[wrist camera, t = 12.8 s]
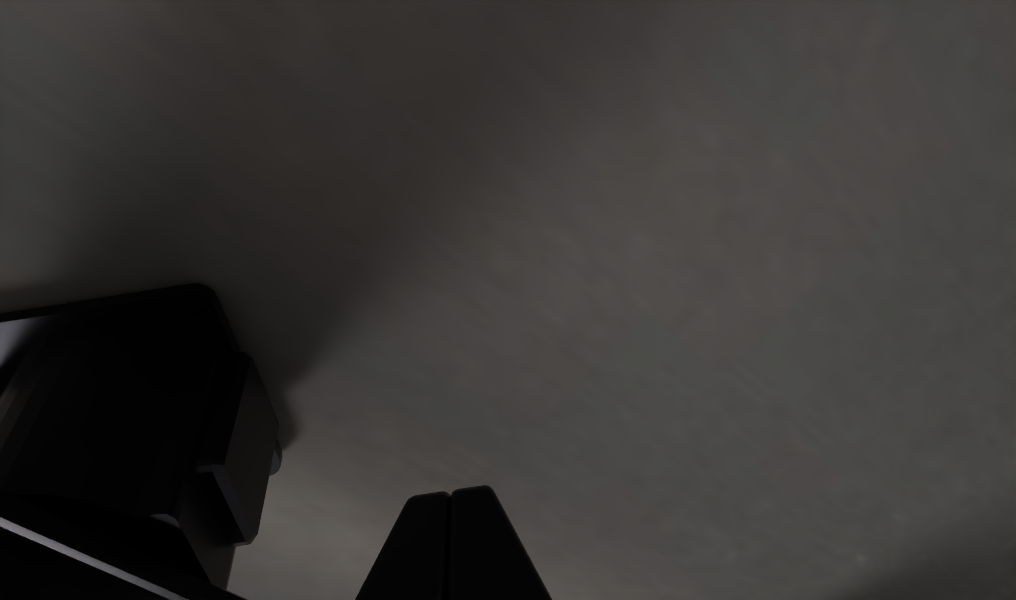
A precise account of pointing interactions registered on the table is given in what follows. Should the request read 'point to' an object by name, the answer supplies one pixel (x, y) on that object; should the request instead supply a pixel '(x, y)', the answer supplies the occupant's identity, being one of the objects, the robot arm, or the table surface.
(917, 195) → the table surface
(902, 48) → the table surface
